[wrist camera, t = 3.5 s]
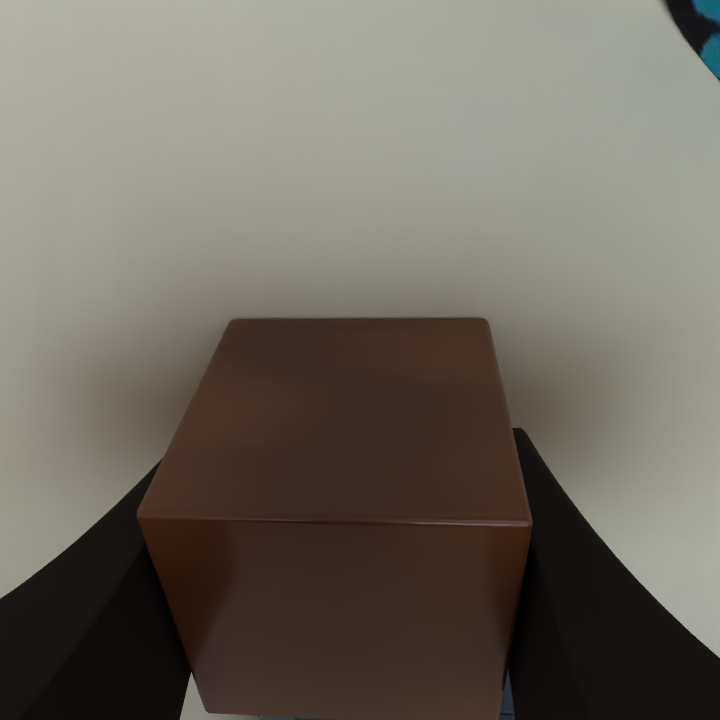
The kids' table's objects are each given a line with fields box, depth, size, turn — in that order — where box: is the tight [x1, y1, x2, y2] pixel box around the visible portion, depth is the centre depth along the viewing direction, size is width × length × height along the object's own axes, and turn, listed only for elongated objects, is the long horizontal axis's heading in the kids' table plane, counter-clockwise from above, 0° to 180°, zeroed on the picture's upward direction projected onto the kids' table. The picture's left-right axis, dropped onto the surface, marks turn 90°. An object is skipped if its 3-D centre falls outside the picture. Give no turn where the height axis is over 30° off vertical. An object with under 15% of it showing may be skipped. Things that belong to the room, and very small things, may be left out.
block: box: [137, 319, 533, 720], centre depth 11 cm, size 5×5×5 cm
